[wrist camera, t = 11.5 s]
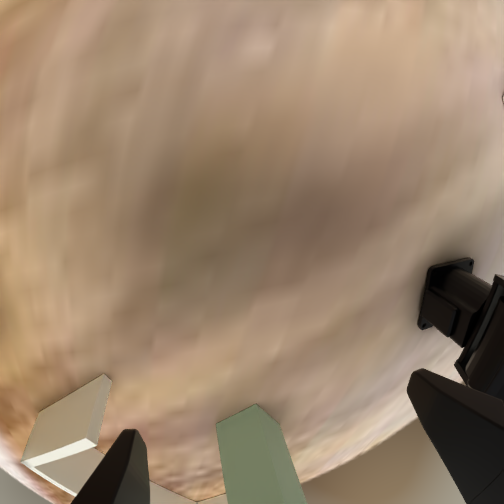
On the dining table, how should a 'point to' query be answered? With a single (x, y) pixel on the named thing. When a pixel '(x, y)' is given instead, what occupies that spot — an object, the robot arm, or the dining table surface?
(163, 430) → the dining table surface
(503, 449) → the robot arm
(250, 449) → the block
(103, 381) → the cream u-shaped wall
